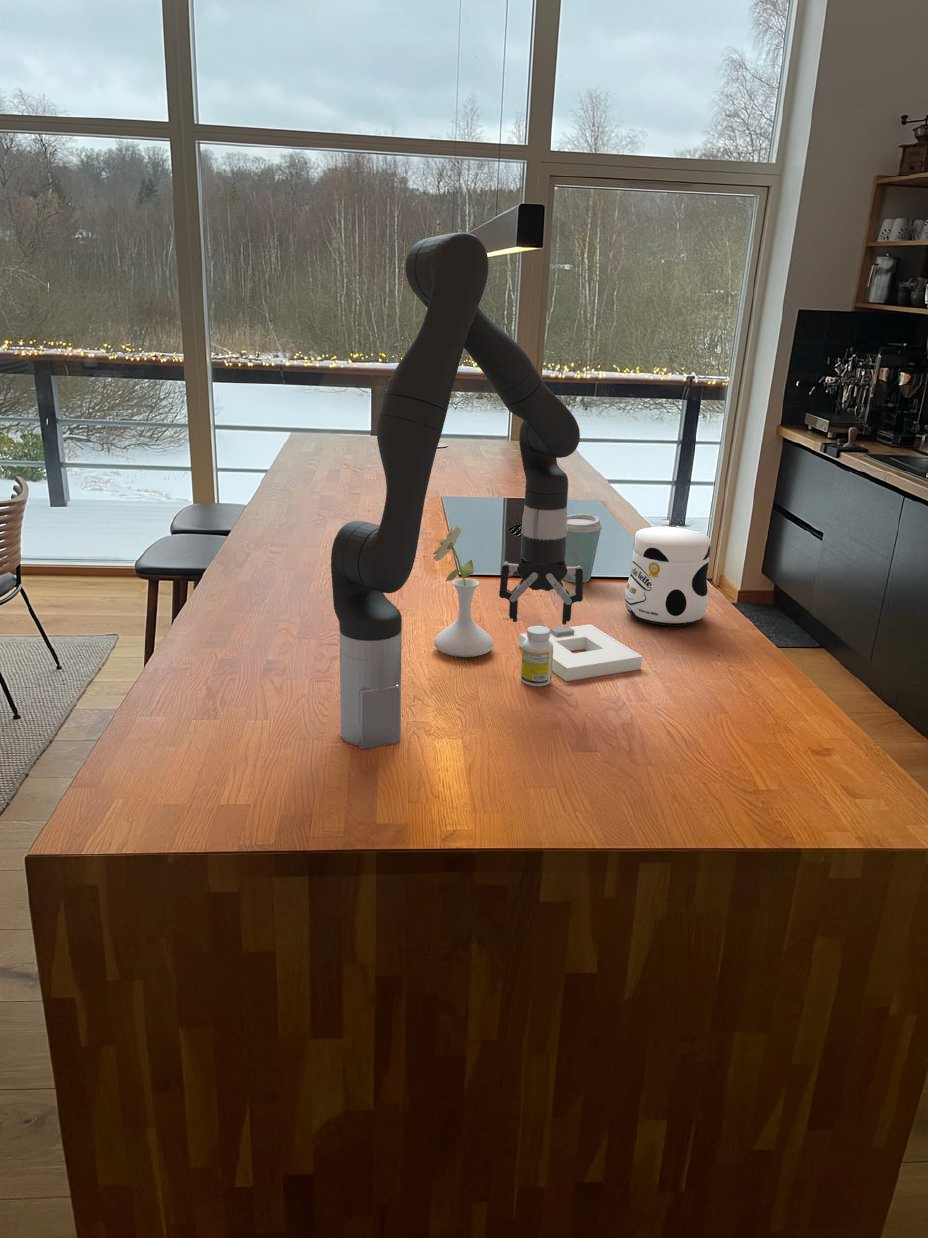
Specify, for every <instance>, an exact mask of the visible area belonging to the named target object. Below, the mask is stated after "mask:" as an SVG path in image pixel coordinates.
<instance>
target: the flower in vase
mask: <svg viewBox="0 0 928 1238" xmlns="http://www.w3.org/2000/svg"><path fill="white" fill-rule="evenodd" d="M461 531H462V528H461V527H459V525H456V526H455V527H454V529H453V527H451V528H450V529H449V530H448V533H447V534H446V538H442V539H441V540H440V541H439V545H440V546H438V547H436V548H437V549H435V550H434V552H433V553H432V555H434V556H433V558H432V561H436V562H438V561H441V560H442V559H443V558H444V557H445V556H446V555H447V554H449V552H450V551H453V554H454V557H455V560H456V561H457V564H458V569H457V568H456V569H454V570H452V571H451V572H449V574H448V575H447V577H446V580H445V582H450V581H452V585H453V586H454V589H456V593H457V595H458V614H457V618H456V620H454V622H452V623H451V624H450V625H447V627H445V628H444V629H442V630H441V631H440V632H439V633H438V634H437V635H436V636H435V638H434V640H433V644H434V645H433V646H434V647H435V648H436V649H437V651H439V652H441V653H443V654H445V655H448V656H451V657H458V658H473V657H477V656H482V655H485V654H487V653H489V652H490V651H492V649H493V647H494V646H495V643H494V641H493V638H492V636H491V635H489V633H488V632H487V631H485V630H484V629H483V628H482V627H481V626H479V625H478V624H477V623H476V622H475V621H474V620H473V618H472V610H471V609H472V601H473V595H474V593H475V591H476V589H477V587H478V586H480V581H478V580H477V579H474V578H467V577H469V576H471V575H473V574H474V572H475V568H474V564H473V560H472V559H470V560H468V561H467V562H466V563H464V564H463V565H462V566H461V562H460V560H459V556H458V554H457V552H456V550H455V547H454V545H455V544H456V543H457V541H458V538H459V537H460V533H461ZM459 573H460V575H461V578H456V577H458V574H459ZM455 578H456V579H455Z"/></svg>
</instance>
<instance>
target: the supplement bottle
mask: <svg viewBox="0 0 928 1238" xmlns="http://www.w3.org/2000/svg"><path fill="white" fill-rule="evenodd" d="M550 629H551V628H550V627H549V628H548V627H546V626H543V625H532V626H529V627H528V628H527V629H526V633H527V638H528V639H526V640H525V641H524V642H523V646H522V648H521V669H520V670H521V673H520V679H521V681H522V683H523V684H524V685H527V686H530V687H544V686H547V685H549V684H551V682H552V676H553V671H552V661H553V643H552V642H551V641H550V640H549V638H550Z"/></svg>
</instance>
